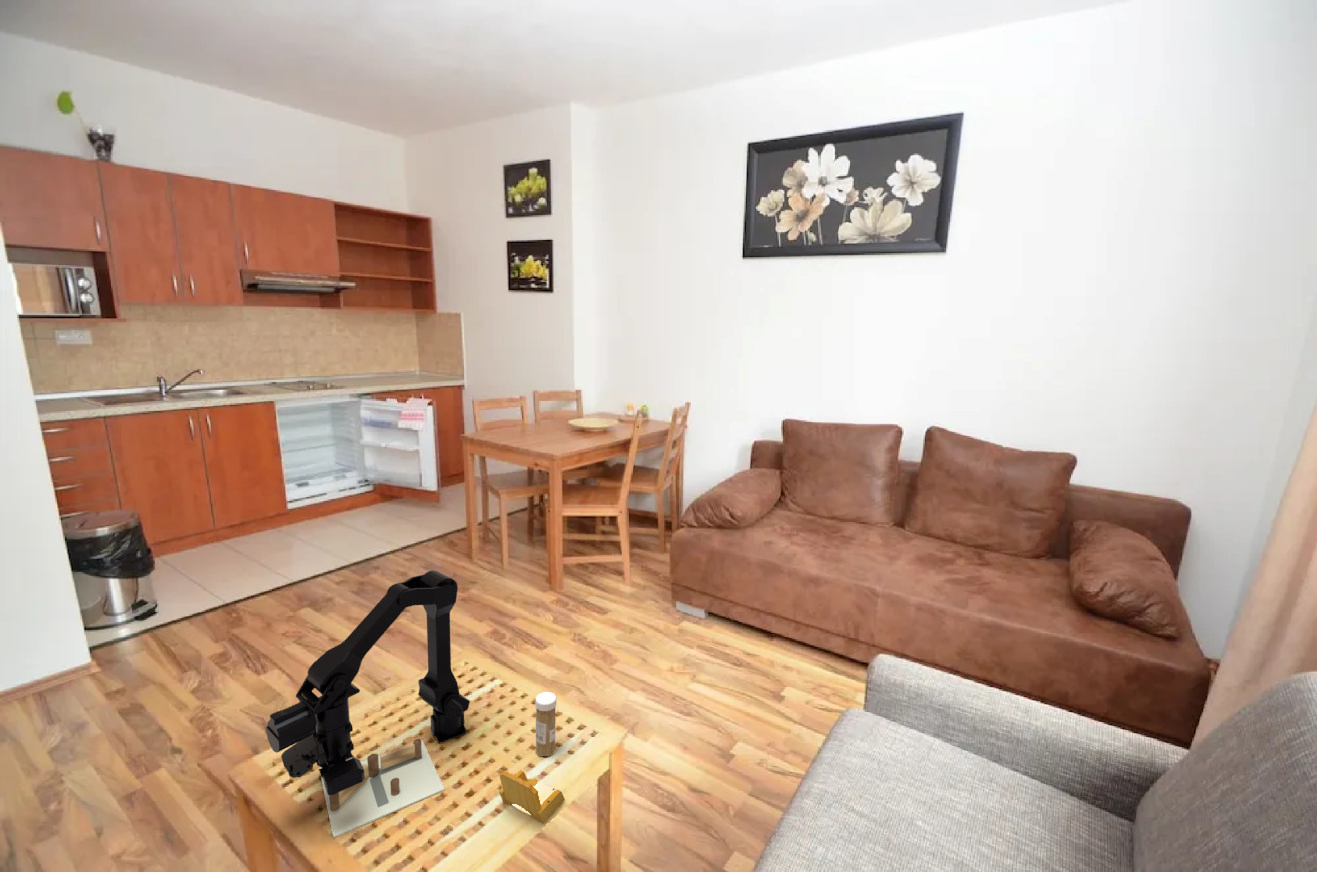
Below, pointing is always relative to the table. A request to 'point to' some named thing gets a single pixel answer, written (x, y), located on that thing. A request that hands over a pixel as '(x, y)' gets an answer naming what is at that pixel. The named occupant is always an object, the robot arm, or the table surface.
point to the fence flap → (346, 792)
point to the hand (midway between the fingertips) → (337, 790)
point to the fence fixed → (394, 761)
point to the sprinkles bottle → (545, 723)
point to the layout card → (385, 793)
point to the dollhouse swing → (528, 795)
